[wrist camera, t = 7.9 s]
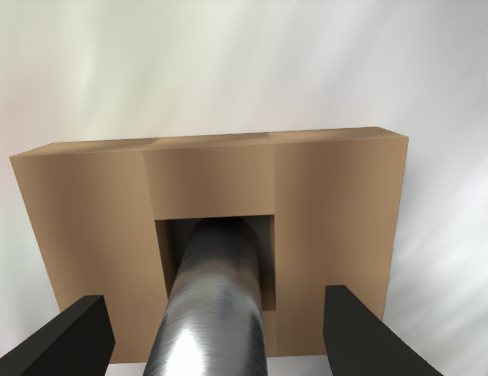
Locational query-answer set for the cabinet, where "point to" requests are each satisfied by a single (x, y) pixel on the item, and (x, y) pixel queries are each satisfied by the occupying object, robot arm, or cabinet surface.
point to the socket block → (217, 205)
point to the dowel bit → (213, 307)
